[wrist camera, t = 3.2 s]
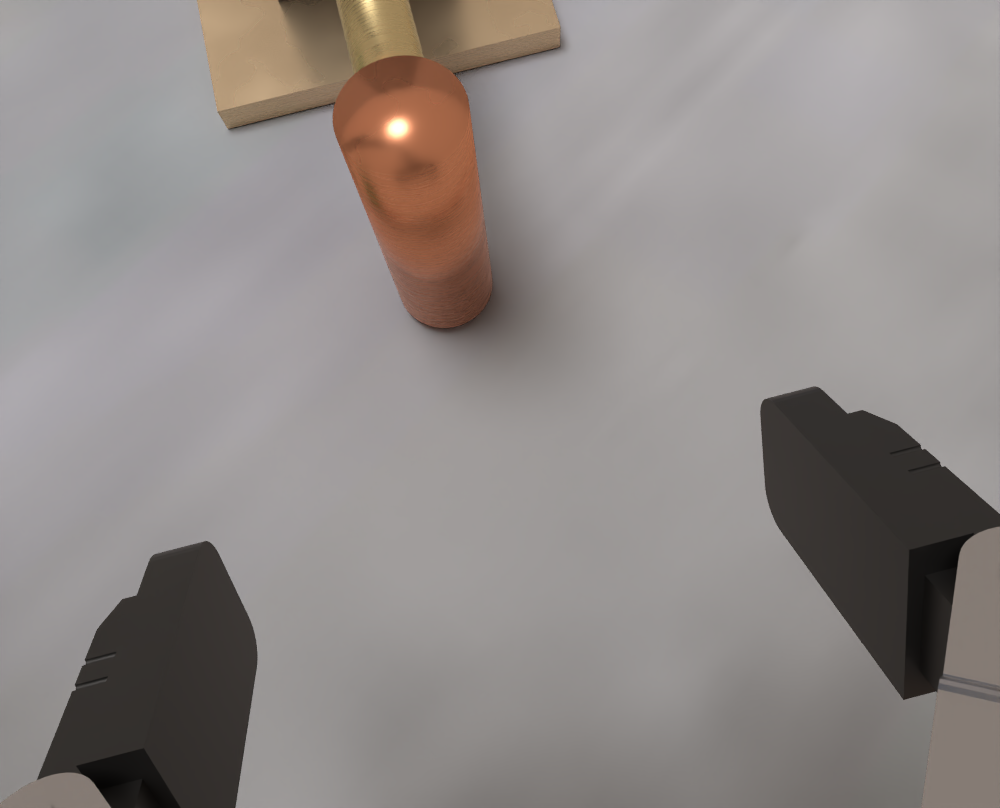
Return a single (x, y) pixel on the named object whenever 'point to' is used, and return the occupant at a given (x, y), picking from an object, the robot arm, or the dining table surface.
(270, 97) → the slotted upright stand
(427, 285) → the copper and brass hammer
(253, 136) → the dining table surface
